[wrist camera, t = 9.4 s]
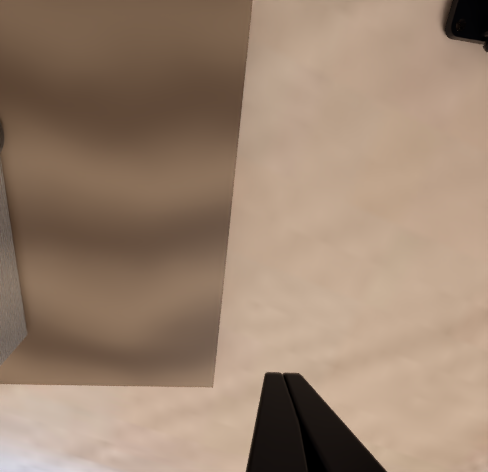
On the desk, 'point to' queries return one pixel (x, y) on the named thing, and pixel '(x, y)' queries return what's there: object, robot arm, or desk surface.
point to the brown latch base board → (120, 184)
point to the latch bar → (8, 280)
